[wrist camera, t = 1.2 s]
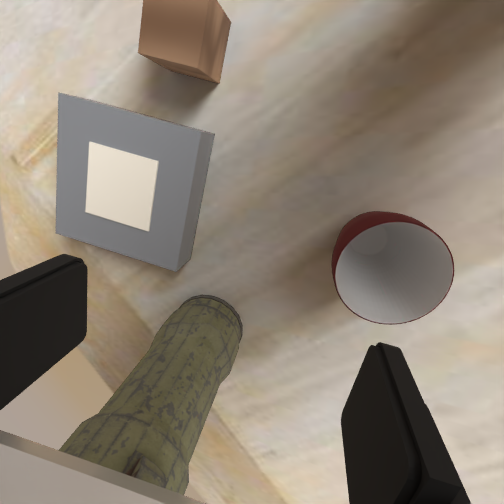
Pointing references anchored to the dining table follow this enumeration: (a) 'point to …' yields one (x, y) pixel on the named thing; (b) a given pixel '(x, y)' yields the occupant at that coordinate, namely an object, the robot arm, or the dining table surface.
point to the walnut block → (185, 36)
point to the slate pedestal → (129, 181)
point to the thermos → (164, 398)
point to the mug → (391, 268)
